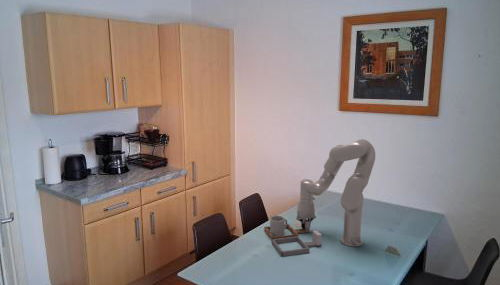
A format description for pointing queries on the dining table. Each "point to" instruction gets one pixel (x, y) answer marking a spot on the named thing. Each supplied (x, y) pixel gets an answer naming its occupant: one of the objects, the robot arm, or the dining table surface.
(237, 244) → the dining table surface
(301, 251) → the grey frame with handle
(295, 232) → the brown frame with handle
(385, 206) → the dining table surface
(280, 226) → the mug
